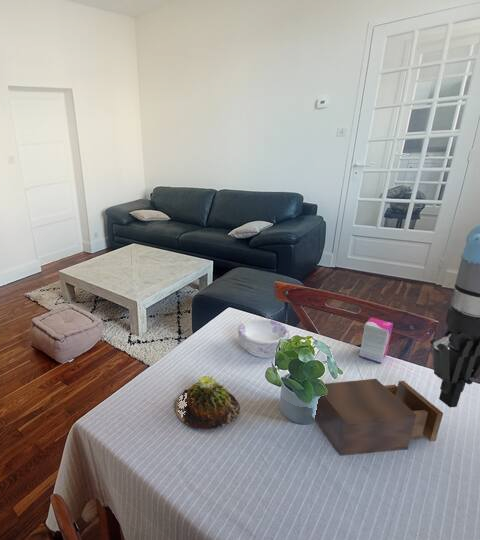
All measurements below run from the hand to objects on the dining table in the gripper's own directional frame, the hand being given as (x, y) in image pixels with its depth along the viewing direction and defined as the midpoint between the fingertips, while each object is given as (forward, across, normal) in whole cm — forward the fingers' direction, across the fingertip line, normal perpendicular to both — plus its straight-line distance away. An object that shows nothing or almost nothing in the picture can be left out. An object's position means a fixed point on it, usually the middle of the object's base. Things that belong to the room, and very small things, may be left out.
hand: (447, 402), depth 76 cm
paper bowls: (+6, +27, -35) cm, 45 cm away
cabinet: (+6, +20, 0) cm, 21 cm away
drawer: (+5, +12, 0) cm, 13 cm away
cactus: (+7, +52, -12) cm, 53 cm away
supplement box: (+6, -3, -26) cm, 27 cm away
